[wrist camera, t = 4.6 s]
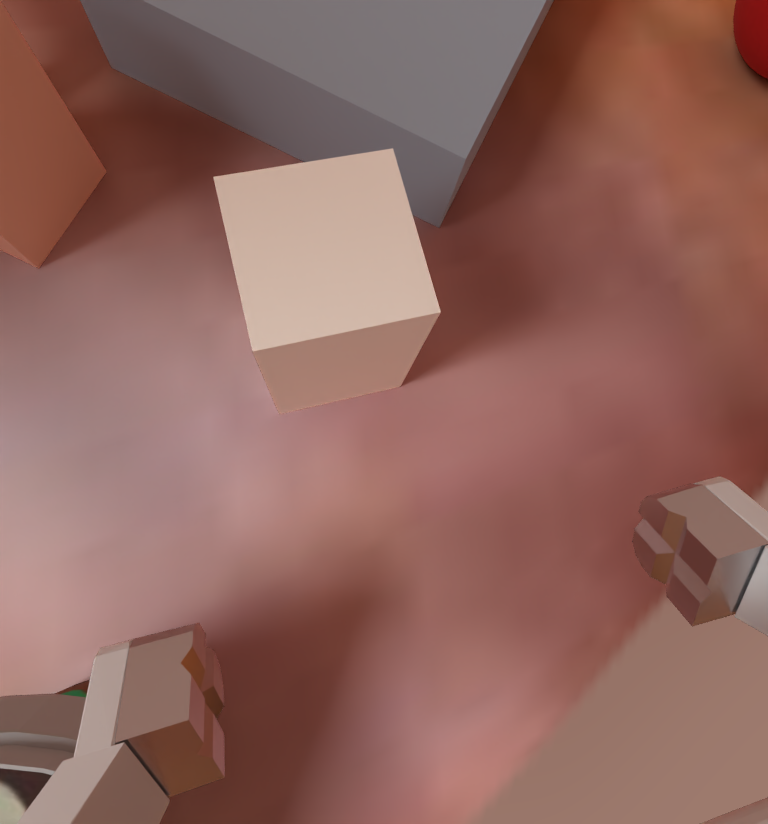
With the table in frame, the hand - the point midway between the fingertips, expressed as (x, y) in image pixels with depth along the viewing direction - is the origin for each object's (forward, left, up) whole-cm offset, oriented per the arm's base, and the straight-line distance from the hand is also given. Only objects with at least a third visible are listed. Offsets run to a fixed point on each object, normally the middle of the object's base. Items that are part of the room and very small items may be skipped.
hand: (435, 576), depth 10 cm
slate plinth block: (-11, +22, -12) cm, 27 cm away
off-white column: (-5, +7, -11) cm, 14 cm away
